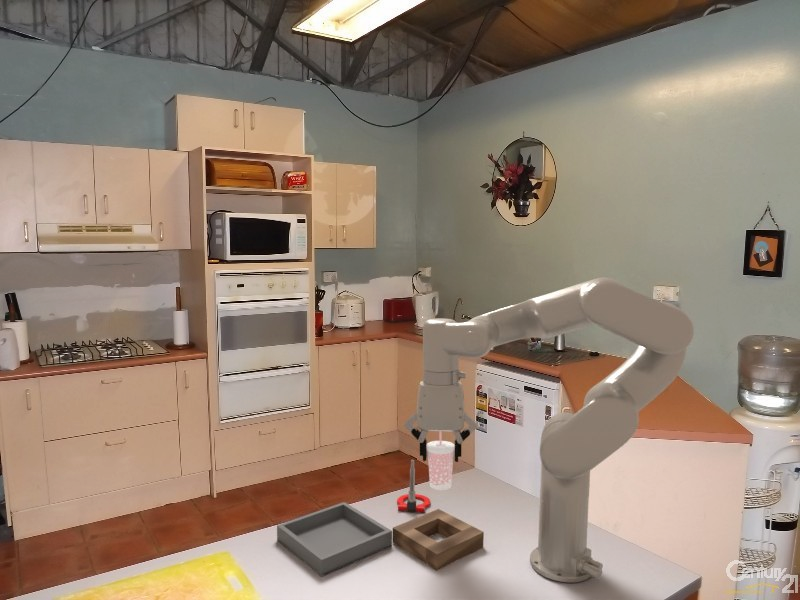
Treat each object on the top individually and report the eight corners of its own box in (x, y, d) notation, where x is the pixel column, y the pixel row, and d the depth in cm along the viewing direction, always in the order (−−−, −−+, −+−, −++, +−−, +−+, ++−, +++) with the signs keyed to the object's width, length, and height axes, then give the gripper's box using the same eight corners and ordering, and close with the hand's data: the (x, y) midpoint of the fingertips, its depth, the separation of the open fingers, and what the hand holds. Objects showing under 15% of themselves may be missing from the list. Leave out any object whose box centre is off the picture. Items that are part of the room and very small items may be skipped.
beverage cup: (440, 477, 129) (440, 416, 128) (460, 486, 125) (460, 422, 123) (420, 485, 125) (420, 422, 124) (440, 494, 121) (440, 429, 119)
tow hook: (399, 497, 151) (394, 511, 142) (400, 448, 150) (395, 459, 141) (431, 499, 150) (428, 514, 141) (433, 450, 149) (429, 462, 140)
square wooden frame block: (483, 547, 126) (483, 532, 125) (436, 570, 117) (437, 554, 116) (438, 523, 136) (438, 508, 136) (392, 542, 127) (392, 527, 127)
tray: (391, 546, 126) (392, 530, 126) (321, 576, 114) (321, 559, 114) (344, 515, 140) (344, 501, 139) (277, 540, 128) (276, 525, 128)
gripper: (480, 373, 126) (480, 454, 127) (401, 372, 127) (401, 452, 129) (482, 382, 118) (482, 467, 120) (398, 380, 120) (399, 465, 121)
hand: (440, 458), depth 124 cm, fingers closed on beverage cup, 6 cm apart
